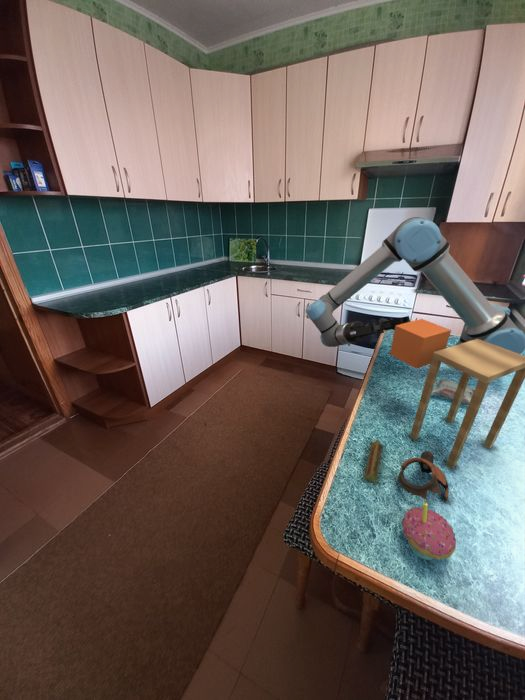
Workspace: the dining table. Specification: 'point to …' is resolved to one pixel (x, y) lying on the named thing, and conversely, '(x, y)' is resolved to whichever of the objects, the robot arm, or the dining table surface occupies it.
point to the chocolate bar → (373, 462)
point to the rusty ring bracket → (427, 467)
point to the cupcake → (428, 533)
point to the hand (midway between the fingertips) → (405, 321)
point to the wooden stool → (481, 365)
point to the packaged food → (452, 391)
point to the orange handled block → (418, 341)
